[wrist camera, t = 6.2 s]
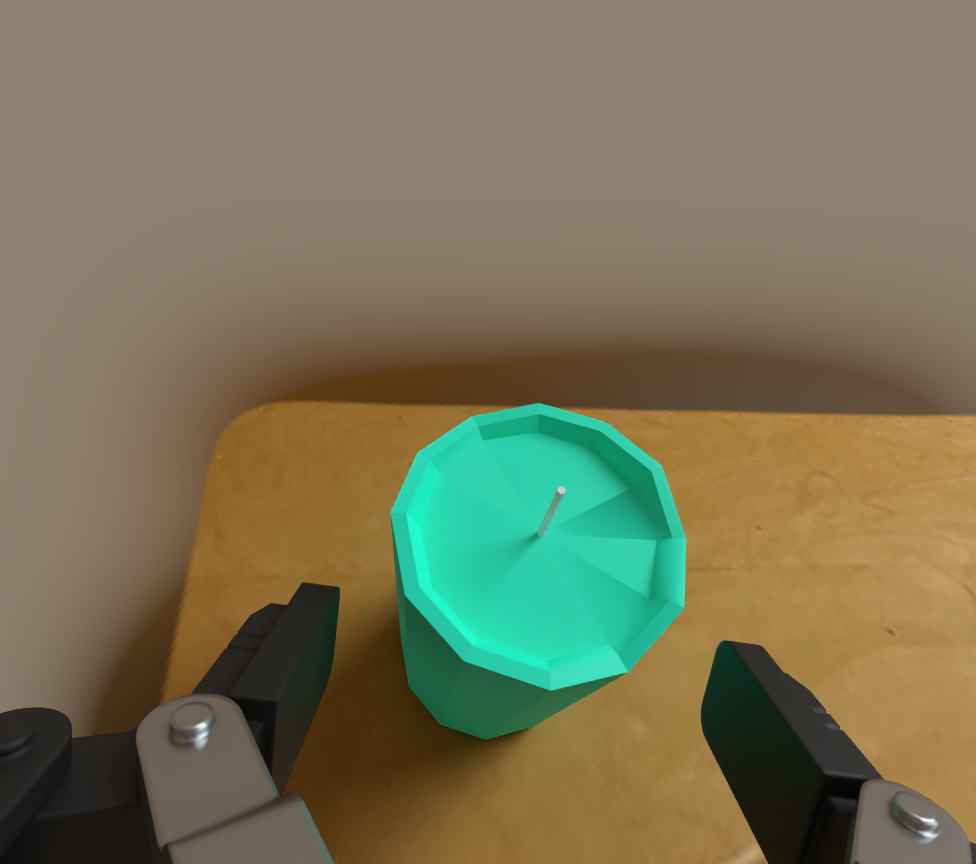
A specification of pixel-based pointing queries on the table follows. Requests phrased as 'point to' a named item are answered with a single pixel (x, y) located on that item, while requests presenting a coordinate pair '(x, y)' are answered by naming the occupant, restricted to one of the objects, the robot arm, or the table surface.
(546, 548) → the candle
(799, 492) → the table surface
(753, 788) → the robot arm
